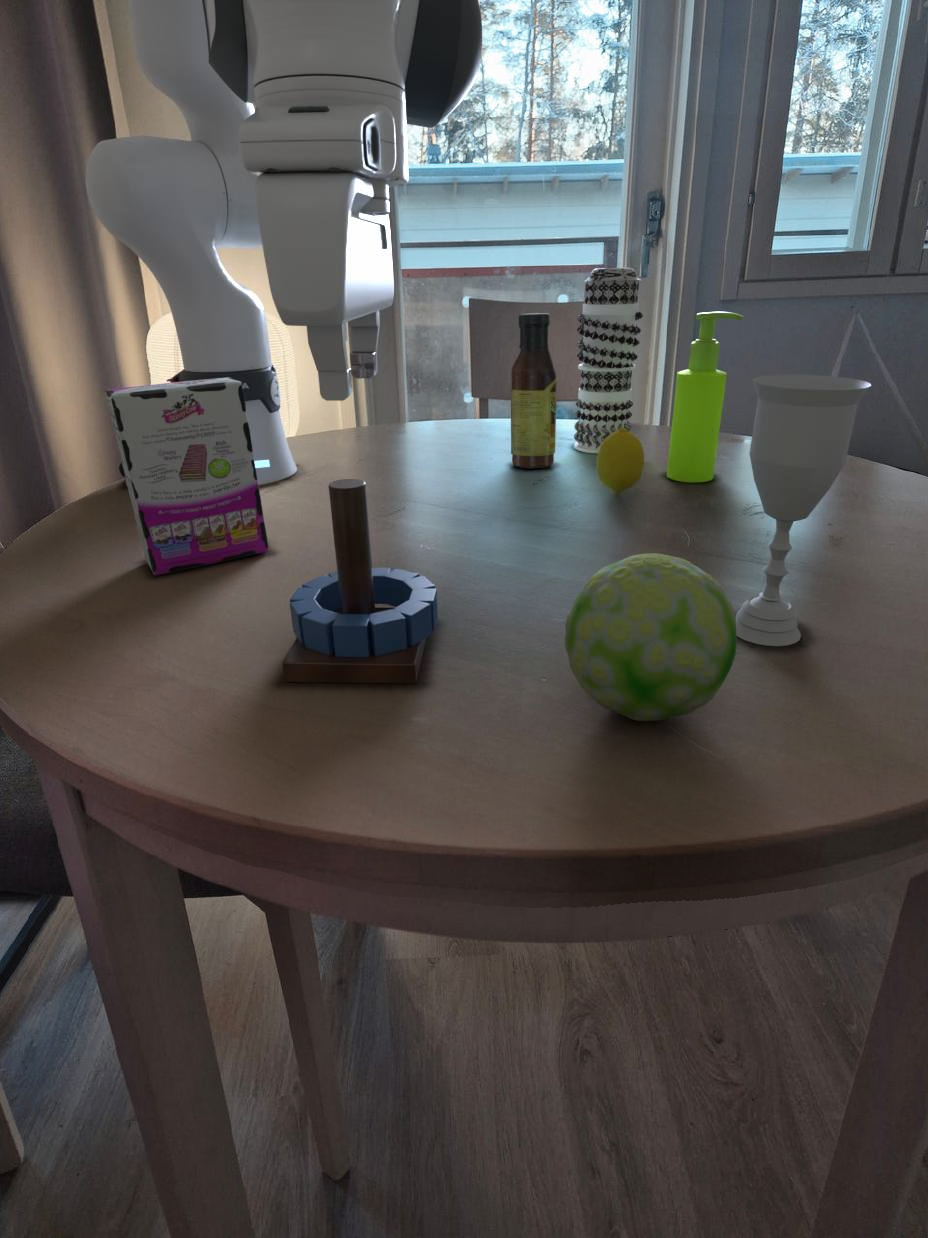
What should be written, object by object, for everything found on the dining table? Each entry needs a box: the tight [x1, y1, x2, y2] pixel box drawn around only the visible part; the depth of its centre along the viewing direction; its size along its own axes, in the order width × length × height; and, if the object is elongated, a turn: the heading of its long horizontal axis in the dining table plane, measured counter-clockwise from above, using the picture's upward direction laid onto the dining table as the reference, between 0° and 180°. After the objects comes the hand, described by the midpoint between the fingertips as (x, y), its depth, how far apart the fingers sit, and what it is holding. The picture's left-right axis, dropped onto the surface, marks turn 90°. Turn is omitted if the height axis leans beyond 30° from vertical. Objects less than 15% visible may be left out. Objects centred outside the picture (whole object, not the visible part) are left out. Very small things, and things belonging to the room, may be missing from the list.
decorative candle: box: [573, 267, 644, 454], centre depth 105 cm, size 9×9×25 cm
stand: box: [281, 478, 428, 685], centre depth 50 cm, size 9×9×12 cm
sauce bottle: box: [510, 312, 558, 470], centre depth 97 cm, size 7×6×20 cm
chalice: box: [735, 374, 872, 647], centre depth 50 cm, size 7×7×18 cm
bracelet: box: [289, 567, 439, 657], centre depth 52 cm, size 10×10×2 cm
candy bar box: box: [104, 377, 270, 576], centre depth 67 cm, size 11×5×16 cm, turn 122°
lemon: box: [596, 428, 645, 495], centre depth 86 cm, size 6×6×8 cm
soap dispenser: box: [666, 311, 745, 483], centre depth 90 cm, size 6×7×20 cm
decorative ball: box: [564, 552, 738, 722], centre depth 43 cm, size 10×10×10 cm
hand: (352, 387), depth 50 cm, fingers open, 8 cm apart
